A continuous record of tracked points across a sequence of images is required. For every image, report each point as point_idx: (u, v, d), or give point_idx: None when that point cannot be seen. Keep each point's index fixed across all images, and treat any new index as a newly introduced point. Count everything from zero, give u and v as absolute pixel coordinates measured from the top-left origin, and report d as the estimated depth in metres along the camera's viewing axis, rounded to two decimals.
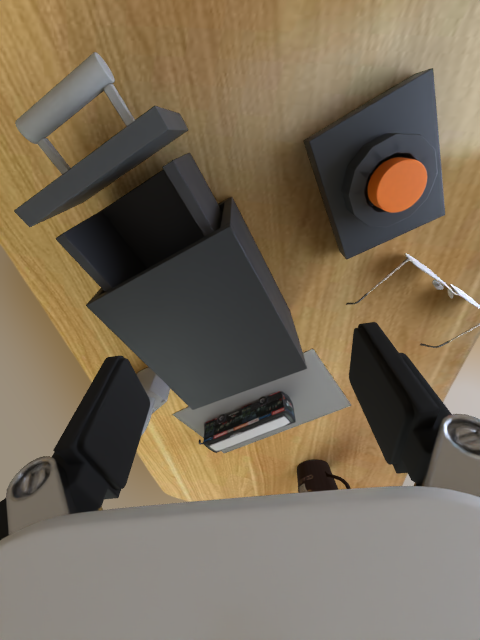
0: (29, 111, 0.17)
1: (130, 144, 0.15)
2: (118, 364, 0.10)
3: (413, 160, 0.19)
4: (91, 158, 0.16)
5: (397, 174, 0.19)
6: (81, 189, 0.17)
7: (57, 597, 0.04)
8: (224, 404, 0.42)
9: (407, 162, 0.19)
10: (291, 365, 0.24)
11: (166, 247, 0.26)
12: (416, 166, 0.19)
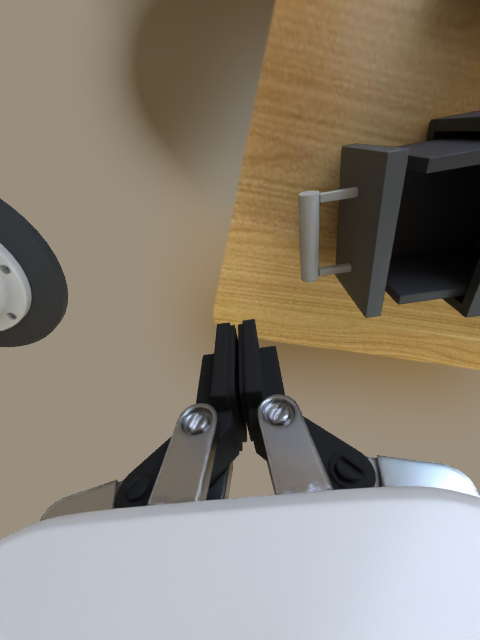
0: (304, 267, 0.22)
1: (394, 195, 0.16)
2: (231, 329, 0.11)
3: None
4: (379, 236, 0.18)
5: None
6: (389, 259, 0.19)
7: (57, 597, 0.04)
8: None
9: None
10: None
11: (431, 221, 0.24)
12: None
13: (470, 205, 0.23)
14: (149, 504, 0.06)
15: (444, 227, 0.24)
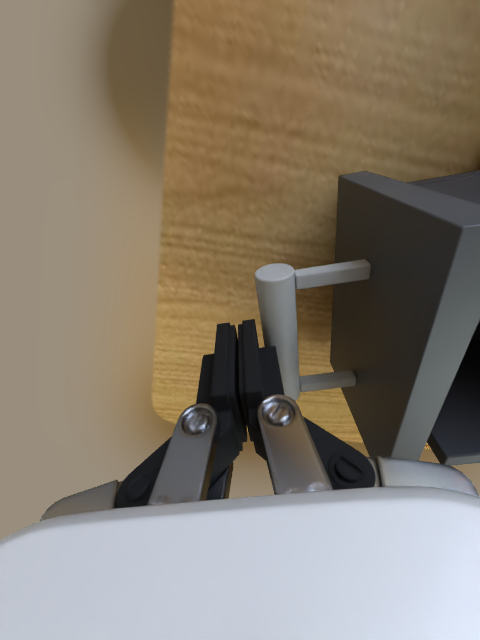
0: None
1: (464, 316, 0.07)
2: (231, 329, 0.11)
3: None
4: (419, 385, 0.08)
5: None
6: (436, 416, 0.09)
7: (57, 597, 0.04)
8: None
9: None
10: None
11: None
12: None
13: None
14: (149, 504, 0.06)
15: None
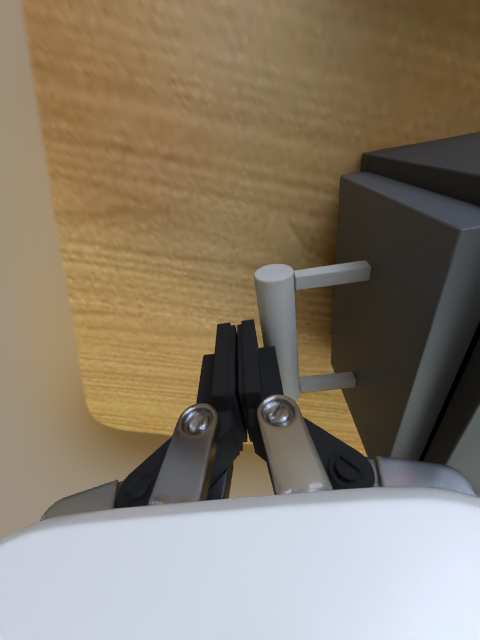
0: None
1: (463, 319, 0.07)
2: (231, 329, 0.11)
3: None
4: (417, 388, 0.08)
5: None
6: (435, 420, 0.09)
7: (57, 597, 0.04)
8: None
9: None
10: None
11: None
12: None
13: None
14: (149, 504, 0.06)
15: None
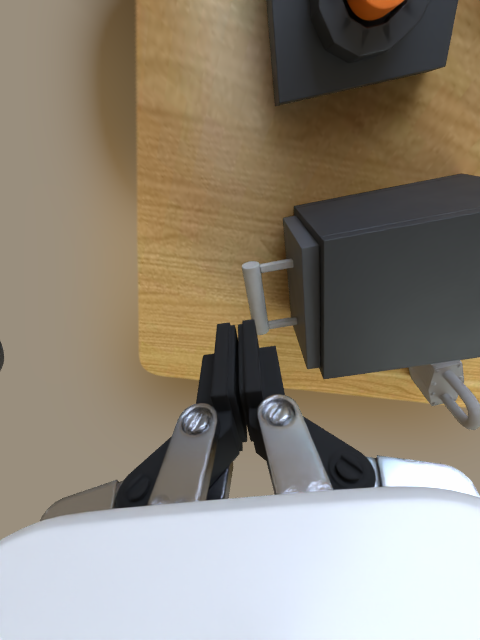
0: None
1: (313, 278, 0.19)
2: (231, 329, 0.11)
3: None
4: (307, 308, 0.20)
5: None
6: (319, 324, 0.21)
7: (57, 597, 0.04)
8: None
9: None
10: None
11: None
12: None
13: None
14: (149, 504, 0.06)
15: None
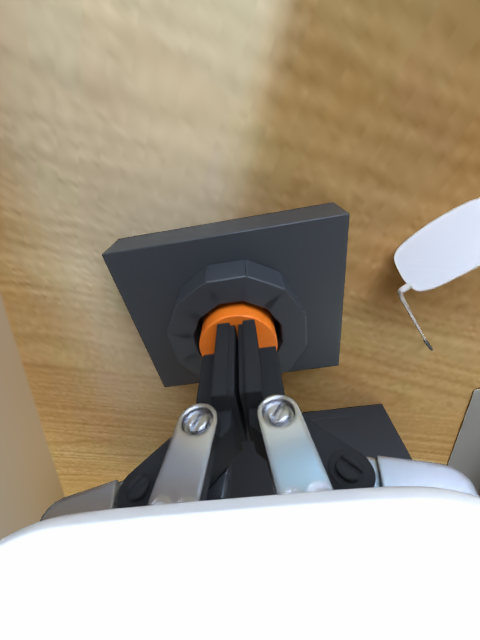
0: None
1: None
2: (231, 329, 0.11)
3: (203, 334, 0.12)
4: None
5: None
6: None
7: (57, 597, 0.04)
8: None
9: (204, 342, 0.12)
10: None
11: None
12: (213, 332, 0.12)
13: None
14: (149, 504, 0.06)
15: None
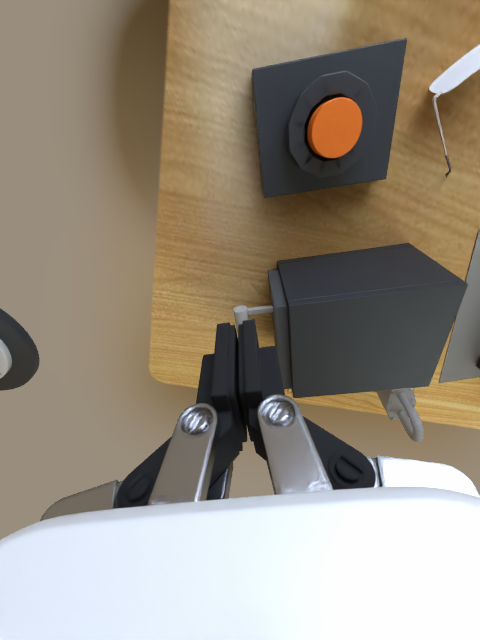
0: None
1: (284, 326, 0.26)
2: (231, 329, 0.11)
3: (317, 115, 0.19)
4: (280, 346, 0.27)
5: (322, 134, 0.20)
6: (289, 358, 0.28)
7: (58, 597, 0.04)
8: (470, 340, 0.38)
9: (316, 122, 0.19)
10: (449, 297, 0.23)
11: None
12: (324, 112, 0.19)
13: None
14: (149, 504, 0.06)
15: None
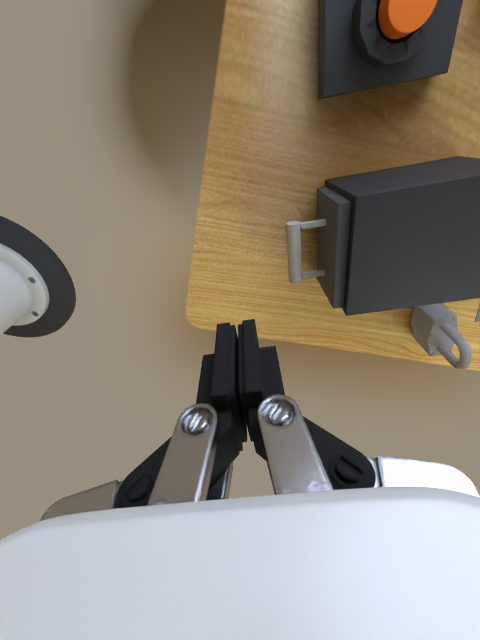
0: (291, 272, 0.32)
1: (345, 228, 0.25)
2: (231, 329, 0.11)
3: None
4: (338, 253, 0.27)
5: (399, 4, 0.19)
6: (346, 268, 0.28)
7: (57, 597, 0.04)
8: None
9: None
10: None
11: None
12: None
13: None
14: (149, 504, 0.06)
15: None
